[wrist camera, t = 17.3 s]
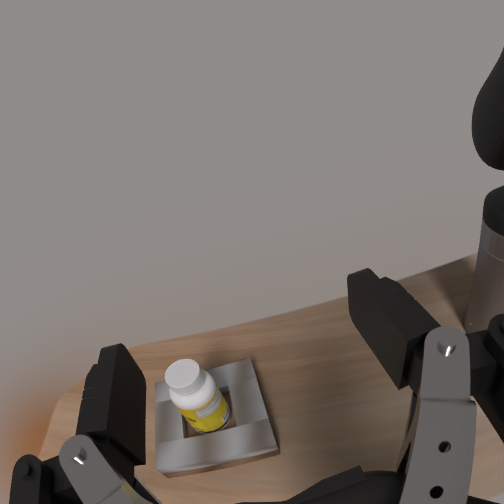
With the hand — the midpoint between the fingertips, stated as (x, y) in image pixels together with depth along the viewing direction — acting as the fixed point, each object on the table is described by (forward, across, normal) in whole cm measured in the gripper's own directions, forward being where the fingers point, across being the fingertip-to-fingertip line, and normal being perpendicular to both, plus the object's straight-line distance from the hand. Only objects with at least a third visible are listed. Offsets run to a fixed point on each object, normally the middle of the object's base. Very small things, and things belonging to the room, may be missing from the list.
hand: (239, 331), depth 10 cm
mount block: (+15, +8, +28) cm, 33 cm away
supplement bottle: (+15, +8, +27) cm, 32 cm away
